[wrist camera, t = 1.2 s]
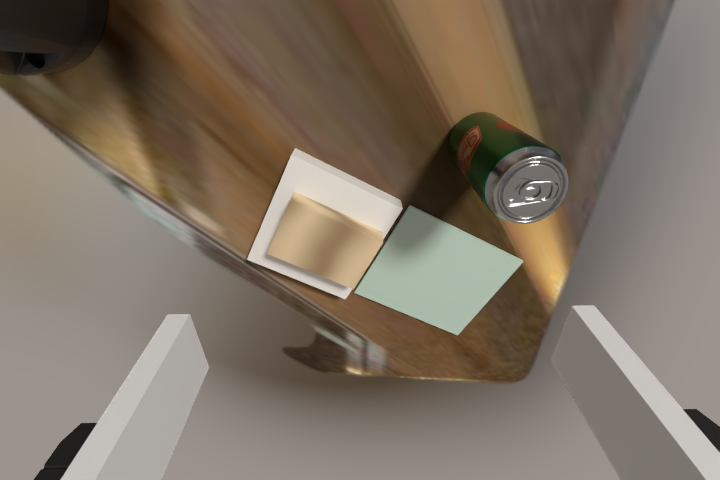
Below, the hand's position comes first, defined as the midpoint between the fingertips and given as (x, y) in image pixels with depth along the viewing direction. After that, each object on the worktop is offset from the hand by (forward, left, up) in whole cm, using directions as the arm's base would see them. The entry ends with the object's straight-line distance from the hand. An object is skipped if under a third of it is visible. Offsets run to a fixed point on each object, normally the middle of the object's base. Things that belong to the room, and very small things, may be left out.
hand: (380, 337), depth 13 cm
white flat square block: (-1, -9, -23) cm, 24 cm away
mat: (+13, -9, -23) cm, 27 cm away
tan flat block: (0, -9, -21) cm, 22 cm away
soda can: (+8, +5, -23) cm, 25 cm away
